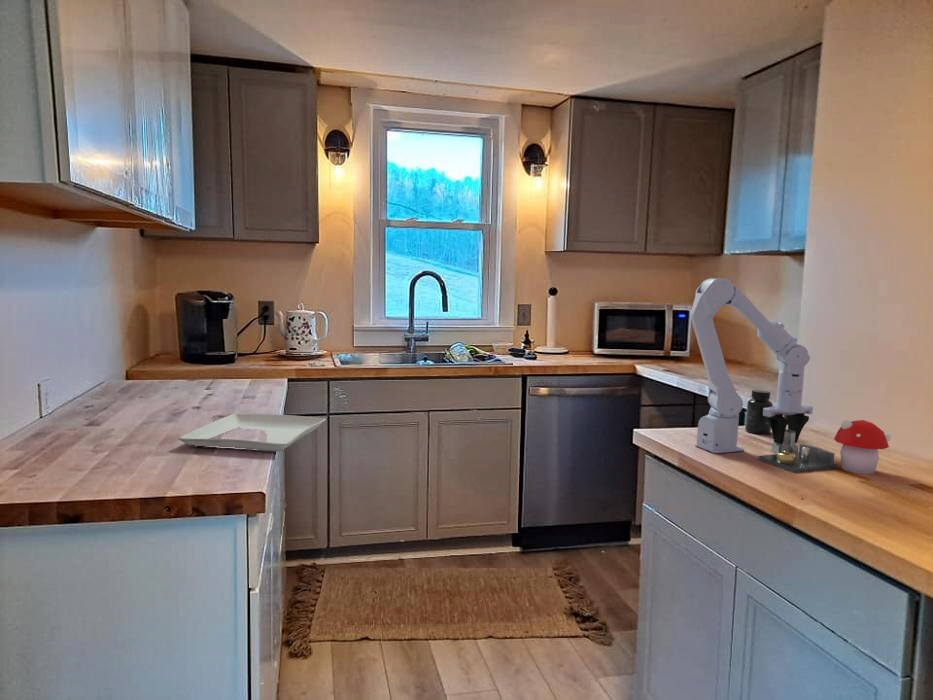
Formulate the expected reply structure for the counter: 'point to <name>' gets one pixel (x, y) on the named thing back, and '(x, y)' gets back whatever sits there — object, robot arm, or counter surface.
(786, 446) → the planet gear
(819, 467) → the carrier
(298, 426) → the square plate
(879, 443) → the mushroom
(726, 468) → the counter surface
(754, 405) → the supplement bottle
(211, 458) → the counter surface
